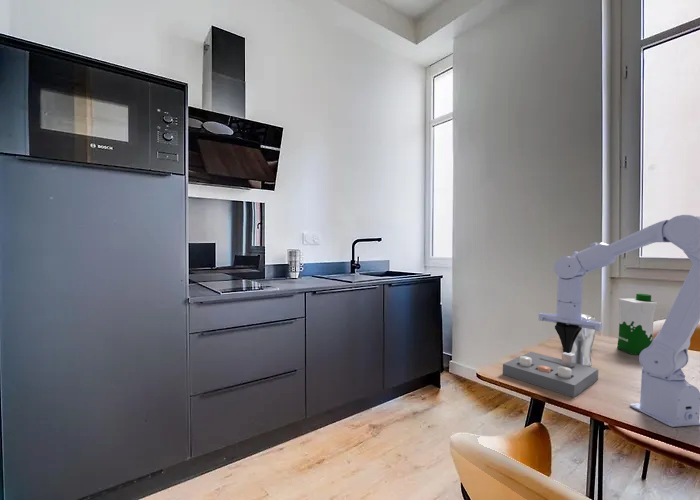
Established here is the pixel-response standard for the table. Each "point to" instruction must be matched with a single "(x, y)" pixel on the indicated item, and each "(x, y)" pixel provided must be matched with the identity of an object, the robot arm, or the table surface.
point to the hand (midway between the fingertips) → (567, 351)
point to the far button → (525, 361)
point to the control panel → (551, 374)
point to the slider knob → (568, 359)
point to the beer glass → (584, 343)
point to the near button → (564, 372)
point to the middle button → (544, 369)
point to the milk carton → (636, 323)
